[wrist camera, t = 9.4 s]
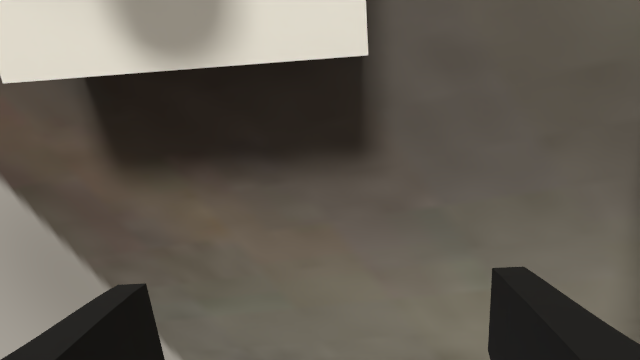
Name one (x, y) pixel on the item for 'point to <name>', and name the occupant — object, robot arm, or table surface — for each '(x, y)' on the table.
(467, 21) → the table surface
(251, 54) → the socket block
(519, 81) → the table surface
